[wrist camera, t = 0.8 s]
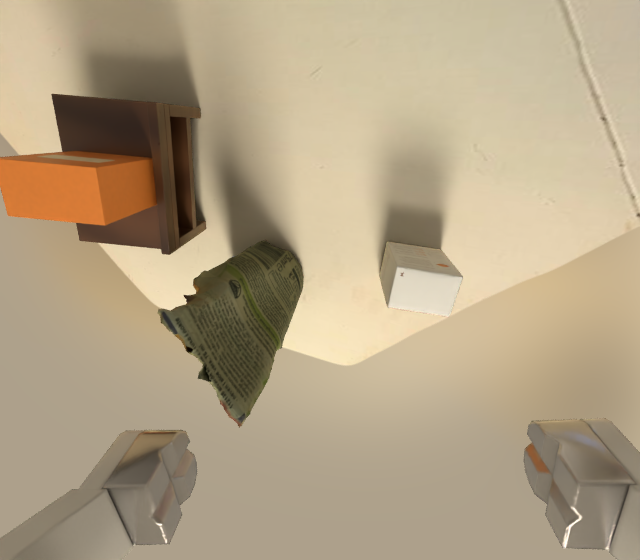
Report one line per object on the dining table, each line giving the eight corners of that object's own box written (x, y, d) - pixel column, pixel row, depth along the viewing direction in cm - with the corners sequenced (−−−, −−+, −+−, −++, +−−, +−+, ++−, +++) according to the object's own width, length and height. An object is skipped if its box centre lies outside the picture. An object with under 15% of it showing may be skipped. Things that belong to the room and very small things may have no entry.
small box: (378, 275, 53) (385, 308, 44) (386, 239, 51) (395, 265, 41) (431, 284, 53) (450, 319, 44) (442, 248, 51) (464, 277, 41)
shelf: (109, 100, 47) (38, 92, 36) (200, 108, 46) (156, 102, 35) (126, 221, 53) (70, 244, 42) (206, 229, 52) (169, 254, 42)
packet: (74, 150, 39) (-9, 157, 30) (154, 157, 39) (95, 166, 30) (83, 196, 41) (7, 216, 32) (159, 204, 41) (105, 226, 32)
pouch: (291, 316, 57) (252, 443, 34) (219, 290, 56) (130, 402, 33) (315, 255, 53) (290, 353, 30) (238, 225, 52) (151, 303, 29)
